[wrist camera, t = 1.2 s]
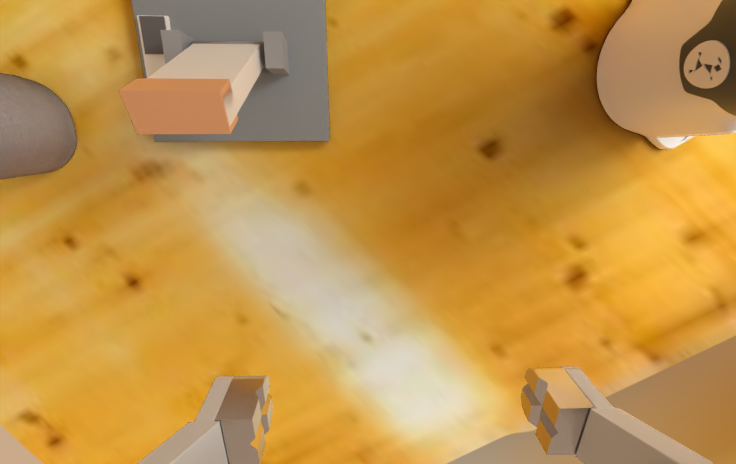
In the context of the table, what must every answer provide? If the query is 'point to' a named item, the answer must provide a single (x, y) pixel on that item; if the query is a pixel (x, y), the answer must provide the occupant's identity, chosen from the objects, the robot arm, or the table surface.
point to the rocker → (196, 89)
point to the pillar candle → (33, 129)
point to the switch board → (276, 82)
